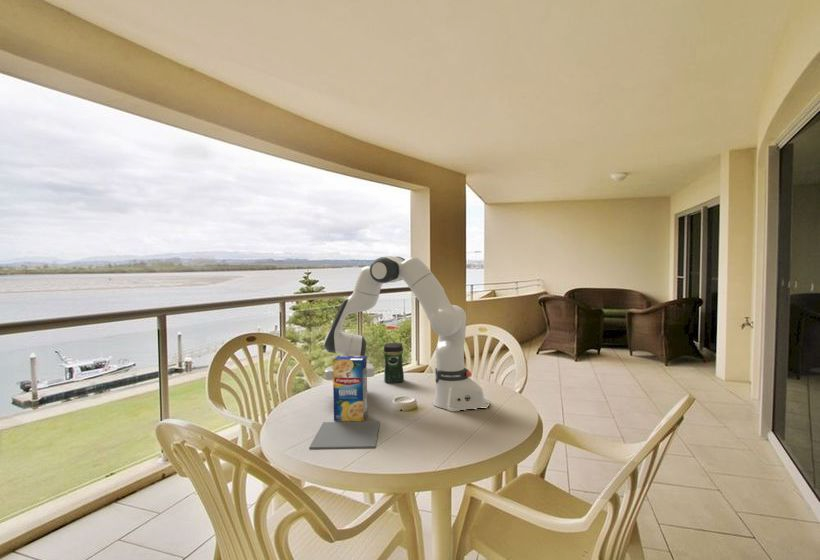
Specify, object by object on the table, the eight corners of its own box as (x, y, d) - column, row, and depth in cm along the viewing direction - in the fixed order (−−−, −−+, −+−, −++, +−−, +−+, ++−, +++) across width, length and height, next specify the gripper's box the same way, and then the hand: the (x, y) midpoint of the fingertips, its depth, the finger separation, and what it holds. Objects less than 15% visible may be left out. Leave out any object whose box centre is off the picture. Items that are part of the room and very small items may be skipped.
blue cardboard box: (363, 421, 137) (362, 360, 136) (333, 420, 138) (332, 359, 137) (367, 414, 143) (366, 355, 143) (339, 413, 145) (338, 355, 144)
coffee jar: (404, 378, 190) (403, 341, 189) (403, 383, 182) (403, 344, 181) (384, 378, 190) (383, 341, 189) (383, 383, 182) (382, 344, 181)
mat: (379, 422, 135) (379, 421, 135) (375, 447, 116) (375, 446, 116) (323, 423, 135) (323, 422, 135) (309, 448, 116) (309, 447, 116)
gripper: (324, 362, 162) (322, 371, 149) (372, 359, 166) (375, 367, 152) (324, 377, 162) (323, 387, 149) (372, 374, 166) (375, 383, 152)
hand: (349, 377), depth 150 cm, fingers closed
